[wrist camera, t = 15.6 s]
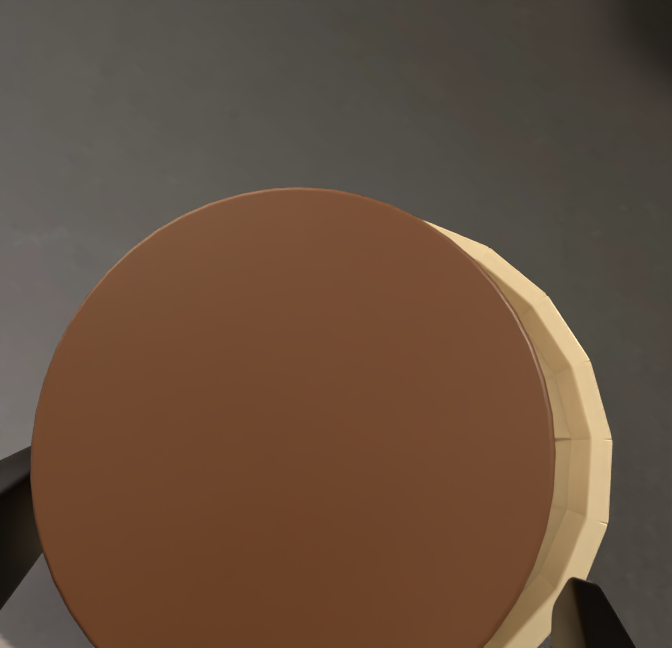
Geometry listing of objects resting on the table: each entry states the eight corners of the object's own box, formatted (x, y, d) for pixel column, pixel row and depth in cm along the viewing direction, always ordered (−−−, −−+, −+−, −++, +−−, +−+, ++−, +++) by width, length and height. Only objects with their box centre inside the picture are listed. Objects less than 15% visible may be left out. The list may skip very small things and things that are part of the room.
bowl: (551, 701, 16) (596, 780, 13) (141, 606, 19) (73, 648, 15) (579, 279, 19) (623, 238, 15) (221, 240, 22) (181, 196, 18)
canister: (487, 448, 18) (688, 463, 5) (353, 569, 18) (229, 891, 5) (369, 320, 19) (309, 95, 7) (244, 429, 19) (-60, 404, 7)
